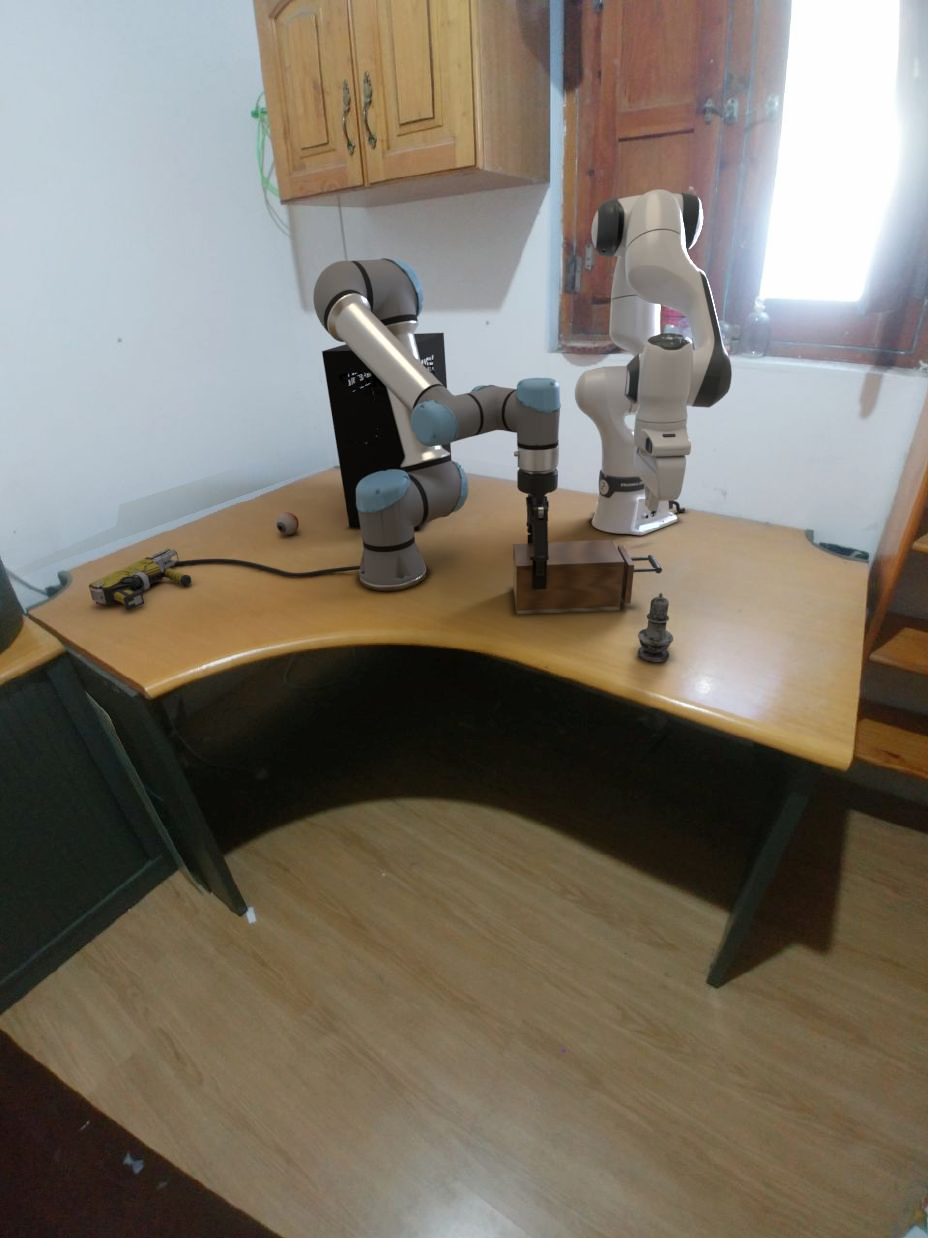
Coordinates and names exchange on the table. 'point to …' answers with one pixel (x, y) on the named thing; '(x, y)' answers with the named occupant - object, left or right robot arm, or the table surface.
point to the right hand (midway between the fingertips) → (651, 508)
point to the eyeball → (287, 523)
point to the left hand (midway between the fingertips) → (536, 575)
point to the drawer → (630, 570)
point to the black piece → (369, 415)
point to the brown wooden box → (570, 578)
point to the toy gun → (136, 580)
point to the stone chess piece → (656, 632)
